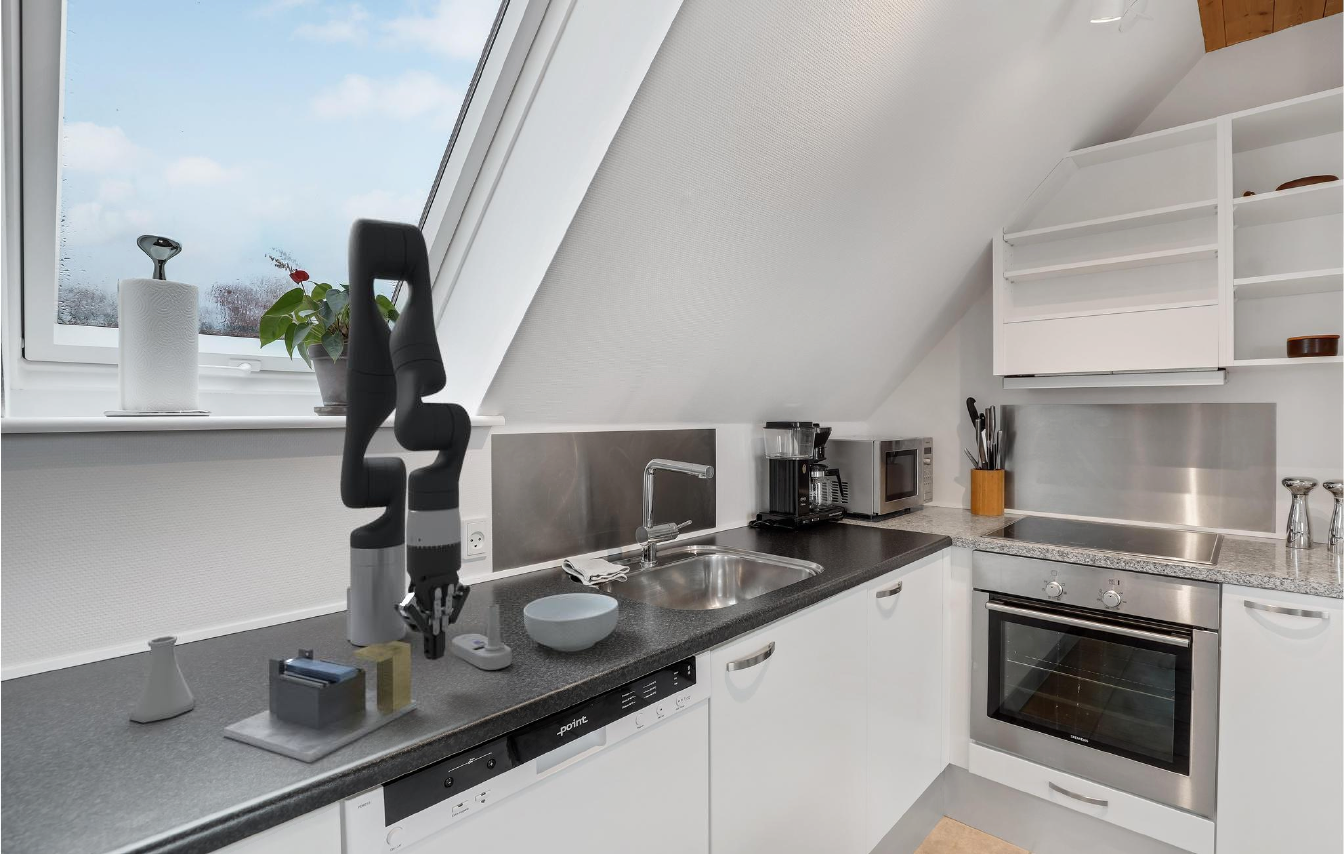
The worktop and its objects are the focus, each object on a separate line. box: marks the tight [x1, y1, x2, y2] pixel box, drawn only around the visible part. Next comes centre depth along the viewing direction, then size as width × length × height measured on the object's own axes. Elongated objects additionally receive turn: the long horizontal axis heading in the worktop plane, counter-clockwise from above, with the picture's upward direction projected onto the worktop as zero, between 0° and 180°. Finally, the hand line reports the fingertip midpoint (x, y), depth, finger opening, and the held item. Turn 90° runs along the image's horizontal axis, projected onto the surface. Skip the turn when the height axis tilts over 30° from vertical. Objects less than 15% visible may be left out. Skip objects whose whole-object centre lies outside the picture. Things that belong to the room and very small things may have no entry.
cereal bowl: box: [523, 592, 619, 652], centre depth 116 cm, size 17×17×7 cm
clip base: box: [223, 647, 417, 764], centre depth 86 cm, size 16×16×8 cm
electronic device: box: [451, 604, 512, 671], centre depth 109 cm, size 5×10×15 cm
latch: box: [353, 640, 412, 712], centre depth 87 cm, size 4×5×8 cm
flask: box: [129, 634, 196, 723], centre depth 89 cm, size 7×7×10 cm
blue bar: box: [284, 655, 356, 682], centre depth 86 cm, size 12×3×1 cm, turn 65°
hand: (434, 657), depth 95 cm, fingers closed
